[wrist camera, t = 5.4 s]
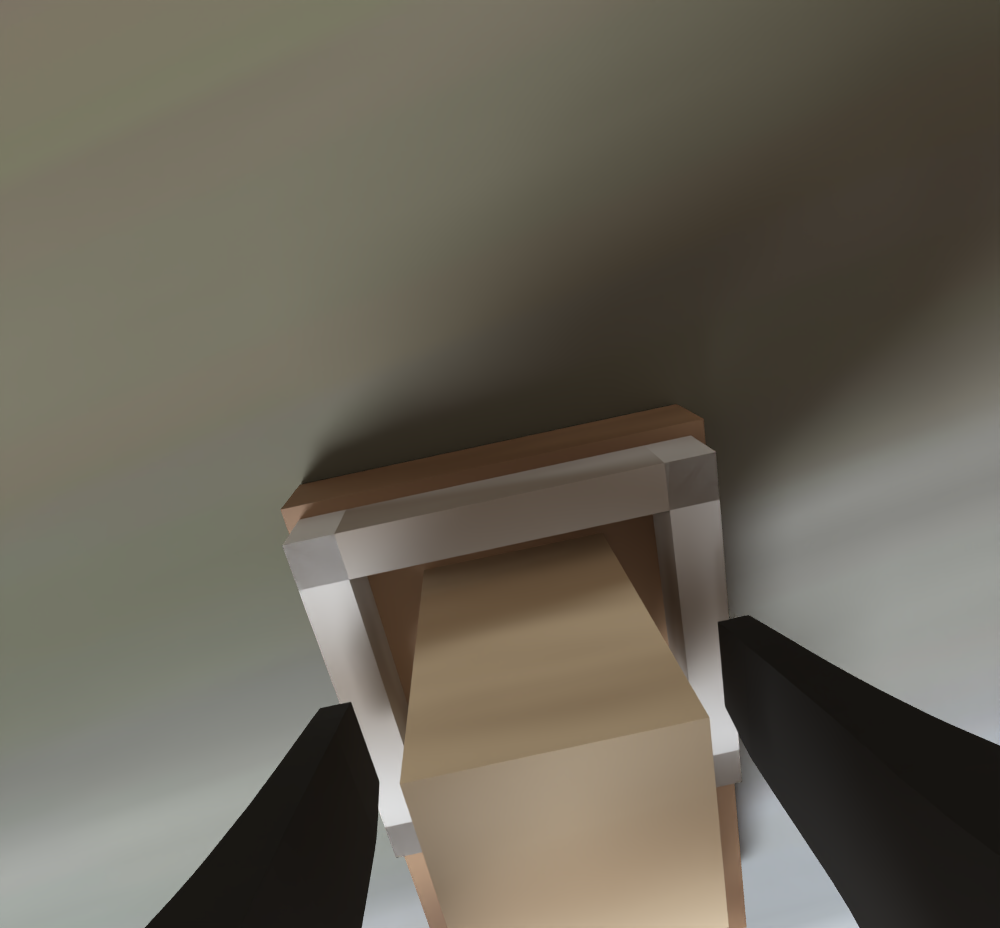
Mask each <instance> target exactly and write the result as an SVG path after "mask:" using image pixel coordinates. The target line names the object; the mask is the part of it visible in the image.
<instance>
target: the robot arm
mask: <svg viewBox="0 0 1000 928" xmlns="http://www.w3.org/2000/svg"><path fill="white" fill-rule="evenodd" d="M718 633H719V645H720V656H721V668H722V680H723V691H724V703H725V708H726V710H727V712H728V714H729V716H730V718H731V720H732V722H733V724H734V726H735V728H736V730H737V732H738V734H739V736H740V738H741V740H742V742H743V743H744V745H745V747H746V749H747V751H748V753H749V755H750V757H751V758H752V760H753V762H754V763H755V765H756V766H757V768H758V769H759V771H760V773H761V774H762V776H763V777H764V779H765V780H766V782H767V783H768V785H769V786H770V788H771V789H772V791H773V792H774V794H775V795H776V797H777V799H778V800H779V802H780V803H781V805H782V806H783V808H784V809H785V811H786V812H787V814H788V815H789V817H790V818H791V820H792V821H793V823H794V824H795V826H796V827H797V829H798V830H799V832H800V833H801V835H802V836H803V838H804V839H805V841H806V842H807V844H808V845H809V847H810V848H811V850H812V851H813V853H814V854H815V856H816V857H817V859H818V861H819V862H820V864H821V865H822V867H823V868H824V870H825V871H826V873H827V874H828V876H829V877H830V879H831V880H832V882H833V883H834V885H835V887H836V888H837V890H838V892H839V893H840V895H841V896H842V898H843V900H844V901H845V903H846V905H847V906H848V908H849V909H850V911H851V913H852V915H853V917H854V918H855V920H856V922H857V924H858V926H859V927H860V928H1000V746H999V745H997V744H995V743H992V742H990V741H988V740H985V739H983V738H981V737H979V736H976V735H974V734H972V733H969V732H967V731H965V730H962V729H960V728H958V727H955V726H953V725H951V724H949V723H946V722H944V721H942V720H940V719H938V718H936V717H934V716H931V715H929V714H927V713H925V712H923V711H921V710H919V709H917V708H915V707H913V706H911V705H909V704H907V703H905V702H903V701H901V700H899V699H897V698H895V697H893V696H891V695H889V694H887V693H885V692H883V691H881V690H879V689H877V688H875V687H873V686H872V685H870V684H868V683H866V682H864V681H862V680H860V679H858V678H857V677H855V676H853V675H851V674H849V673H847V672H846V671H844V670H842V669H840V668H839V667H837V666H835V665H833V664H831V663H830V662H828V661H826V660H824V659H823V658H821V657H819V656H817V655H816V654H814V653H812V652H811V651H809V650H807V649H805V648H804V647H802V646H800V645H799V644H797V643H795V642H794V641H792V640H790V639H788V638H787V637H785V636H783V635H782V634H780V633H778V632H777V631H775V630H773V629H772V628H770V627H768V626H767V625H765V624H763V623H761V622H760V621H758V620H756V619H754V618H753V617H751V616H749V615H747V616H742V617H738V618H733V619H729V620H724V621H719V622H718ZM379 784H380V782H379V779H378V776H377V773H376V770H375V767H374V765H373V762H372V759H371V756H370V753H369V751H368V748H367V745H366V742H365V739H364V737H363V734H362V731H361V728H360V725H359V722H358V720H357V717H356V714H355V711H354V708H353V706H352V703H351V702H347V703H342V704H338V705H333V706H329V707H324V708H320V709H319V710H318V712H317V713H316V714H315V716H314V717H313V718H312V720H311V721H310V722H309V724H308V725H307V727H306V728H305V729H304V731H303V732H302V734H301V735H300V736H299V738H298V739H297V741H296V742H295V743H294V745H293V746H292V748H291V749H290V750H289V752H288V753H287V754H286V756H285V757H284V759H283V760H282V761H281V763H280V764H279V766H278V767H277V768H276V770H275V771H274V772H273V774H272V775H271V776H270V778H269V779H268V780H267V782H266V783H265V784H264V786H263V787H262V788H261V790H260V791H259V793H258V794H257V795H256V797H255V798H254V799H253V801H252V802H251V803H250V805H249V806H248V807H247V808H246V810H245V811H244V812H243V813H242V815H241V816H240V817H239V818H238V820H237V821H236V822H235V823H234V825H233V826H232V827H231V828H230V830H229V831H228V832H227V833H226V835H225V836H224V837H223V838H222V840H221V841H220V842H219V843H218V845H217V846H216V847H215V848H214V850H213V851H212V852H211V853H210V855H209V856H208V857H207V858H206V860H205V861H204V862H203V863H202V864H201V866H200V867H199V868H198V869H197V870H196V871H195V873H194V874H193V875H192V876H191V877H190V878H189V880H188V881H187V882H186V883H185V884H184V885H183V886H182V887H181V889H180V890H179V891H178V892H177V893H176V894H175V895H174V897H173V898H172V899H171V900H170V901H169V902H168V903H167V904H166V905H165V906H164V907H163V909H162V910H161V911H160V912H159V913H158V914H157V915H156V916H155V917H154V918H153V919H152V920H151V922H150V923H149V924H148V925H147V926H146V927H145V928H362V922H363V916H364V911H365V905H366V899H367V893H368V888H369V882H370V876H371V870H372V864H373V858H374V851H375V845H376V837H377V823H378V805H379Z"/></svg>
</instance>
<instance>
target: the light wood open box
mask: <svg viewBox="0 0 1000 928" xmlns="http://www.w3.org/2000/svg"><path fill="white" fill-rule="evenodd" d="M281 512H282V515H283V518H284V521H285V523H286V526H287V529H288V532H289V536H288V537H287V539H286V540H285V542H284V543H283V545H282V546H283V549H284V551H285V554H286V557H287V560H288V562H289V565H290V568H291V571H292V573H293V576H294V579H295V582H296V584H297V587H298V590H299V593H300V595H301V598H302V601H303V604H304V606H305V609H306V612H307V615H308V617H309V620H310V623H311V626H312V628H313V631H314V634H315V637H316V639H317V642H318V645H319V648H320V650H321V653H322V656H323V659H324V661H325V664H326V667H327V670H328V672H329V675H330V678H331V680H332V683H333V686H334V689H335V691H336V694H337V697H338V700H339V702H340V704H342V703H347V702H351V703H352V706H353V708H354V711H355V714H356V717H357V720H358V722H359V725H360V728H361V731H362V734H363V737H364V739H365V742H366V745H367V748H368V751H369V753H370V756H371V759H372V762H373V765H374V767H375V770H376V773H377V776H378V779H379V782H380V784H379V805H378V810H379V812H380V815H381V818H382V820H383V823H384V826H385V829H386V831H387V834H388V837H389V840H390V842H391V845H392V848H393V851H394V853H395V856H396V858H398V857H403V856H404V857H405V859H406V862H407V865H408V868H409V871H410V873H411V876H412V879H413V882H414V885H415V887H416V890H417V893H418V896H419V899H420V901H421V904H422V907H423V910H424V913H425V915H426V918H427V921H428V924H429V927H430V928H447V925H446V922H445V919H444V916H443V913H442V910H441V907H440V904H439V901H438V898H437V895H436V892H435V889H434V886H433V883H432V880H431V877H430V874H429V871H428V868H427V865H426V862H425V859H424V856H423V853H422V850H421V847H420V844H419V841H418V838H417V835H416V832H415V829H414V826H413V823H412V820H411V817H410V814H409V811H408V808H407V805H406V802H405V799H404V796H403V793H402V790H401V787H400V777H401V768H402V759H403V750H404V742H405V733H406V724H407V715H408V706H409V698H410V689H411V680H412V671H413V662H414V654H415V645H416V636H417V627H418V618H419V610H420V601H421V592H422V583H423V574H424V570H426V569H431V568H436V567H441V566H445V565H450V564H455V563H460V562H464V561H469V560H474V559H479V558H483V557H488V556H493V555H498V554H502V553H507V552H512V551H517V550H521V549H526V548H531V547H536V546H540V545H545V544H550V543H555V542H559V541H564V540H569V539H573V538H578V537H583V536H588V535H592V534H597V533H603V535H604V537H605V539H606V540H607V542H608V544H609V545H610V547H611V549H612V551H613V552H614V554H615V556H616V557H617V559H618V561H619V563H620V564H621V566H622V568H623V569H624V571H625V573H626V575H627V576H628V578H629V580H630V582H631V583H632V585H633V587H634V588H635V590H636V592H637V594H638V595H639V597H640V599H641V600H642V602H643V604H644V606H645V607H646V609H647V611H648V612H649V614H650V616H651V618H652V619H653V621H654V623H655V625H656V626H657V628H658V630H659V631H660V633H661V635H662V637H663V638H664V640H665V642H666V643H667V645H668V647H669V649H670V650H671V652H672V654H673V655H674V657H675V659H676V661H677V662H678V664H679V666H680V667H681V669H682V671H683V673H684V674H685V676H686V678H687V680H688V681H689V683H690V685H691V686H692V688H693V690H694V692H695V693H696V695H697V697H698V698H699V700H700V702H701V704H702V705H703V707H704V709H705V710H706V712H707V714H708V716H709V717H710V727H711V738H712V749H713V760H714V771H715V782H716V793H717V804H718V815H719V826H720V836H721V847H722V858H723V869H724V880H725V891H726V902H727V913H728V924H729V928H745V927H746V916H745V904H744V892H743V881H742V869H741V857H740V845H739V833H738V821H737V809H736V798H735V786H734V784H735V783H739V782H742V777H741V764H740V751H739V739H738V732H737V730H736V728H735V726H734V724H733V722H732V720H731V718H730V716H729V714H728V712H727V710H726V708H725V703H724V691H723V680H722V668H721V656H720V645H719V633H718V622H719V621H724V620H729V611H728V599H727V586H726V573H725V560H724V548H723V535H722V522H721V509H720V497H719V484H718V471H717V458H716V452H715V451H714V450H712V449H711V448H709V447H708V446H706V442H705V430H704V419H703V418H701V417H699V416H697V415H696V414H694V413H692V412H690V411H688V410H687V409H685V408H683V407H681V406H679V405H678V404H674V405H670V406H665V407H660V408H656V409H651V410H646V411H642V412H637V413H632V414H628V415H623V416H618V417H614V418H609V419H604V420H600V421H595V422H590V423H586V424H581V425H576V426H572V427H567V428H562V429H558V430H553V431H548V432H544V433H539V434H534V435H530V436H525V437H520V438H516V439H511V440H506V441H502V442H497V443H492V444H488V445H483V446H478V447H474V448H469V449H464V450H460V451H455V452H450V453H446V454H441V455H436V456H432V457H427V458H422V459H418V460H413V461H408V462H404V463H399V464H394V465H390V466H385V467H380V468H376V469H371V470H366V471H362V472H357V473H352V474H348V475H343V476H338V477H334V478H329V479H324V480H320V481H315V482H310V483H306V484H301V485H299V487H298V488H297V489H296V490H295V492H294V493H293V494H292V496H291V497H290V498H289V499H288V501H287V502H286V503H285V505H284V506H283V507H282V508H281Z"/></svg>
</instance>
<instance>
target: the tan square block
mask: <svg viewBox="0 0 1000 928" xmlns="http://www.w3.org/2000/svg"><path fill="white" fill-rule="evenodd" d="M400 787H401V790H402V793H403V796H404V799H405V802H406V805H407V808H408V811H409V814H410V817H411V820H412V823H413V826H414V829H415V832H416V835H417V838H418V841H419V844H420V847H421V850H422V853H423V856H424V859H425V862H426V865H427V868H428V871H429V874H430V877H431V880H432V883H433V886H434V889H435V892H436V895H437V898H438V901H439V904H440V907H441V910H442V913H443V916H444V919H445V922H446V925H447V928H729V924H728V913H727V902H726V891H725V880H724V869H723V858H722V847H721V836H720V826H719V815H718V804H717V793H716V782H715V771H714V760H713V749H712V738H711V727H710V717H709V716H708V714H707V712H706V710H705V709H704V707H703V705H702V704H701V702H700V700H699V698H698V697H697V695H696V693H695V692H694V690H693V688H692V686H691V685H690V683H689V681H688V680H687V678H686V676H685V674H684V673H683V671H682V669H681V667H680V666H679V664H678V662H677V661H676V659H675V657H674V655H673V654H672V652H671V650H670V649H669V647H668V645H667V643H666V642H665V640H664V638H663V637H662V635H661V633H660V631H659V630H658V628H657V626H656V625H655V623H654V621H653V619H652V618H651V616H650V614H649V612H648V611H647V609H646V607H645V606H644V604H643V602H642V600H641V599H640V597H639V595H638V594H637V592H636V590H635V588H634V587H633V585H632V583H631V582H630V580H629V578H628V576H627V575H626V573H625V571H624V569H623V568H622V566H621V564H620V563H619V561H618V559H617V557H616V556H615V554H614V552H613V551H612V549H611V547H610V545H609V544H608V542H607V540H606V539H605V537H604V535H603V533H597V534H592V535H588V536H583V537H578V538H573V539H569V540H564V541H559V542H555V543H550V544H545V545H540V546H536V547H531V548H526V549H521V550H517V551H512V552H507V553H502V554H498V555H493V556H488V557H483V558H479V559H474V560H469V561H464V562H460V563H455V564H450V565H445V566H441V567H436V568H431V569H426V570H424V574H423V583H422V592H421V601H420V610H419V618H418V627H417V636H416V645H415V654H414V662H413V671H412V680H411V689H410V698H409V706H408V715H407V724H406V733H405V742H404V750H403V759H402V768H401V777H400Z"/></svg>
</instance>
